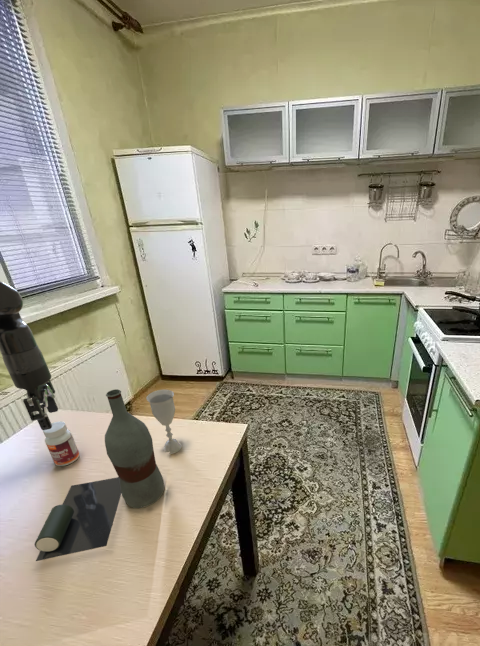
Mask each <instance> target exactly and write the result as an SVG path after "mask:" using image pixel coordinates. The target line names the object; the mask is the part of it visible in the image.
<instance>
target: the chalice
mask: <svg viewBox="0 0 480 646" xmlns="http://www.w3.org/2000/svg"><path fill="white" fill-rule="evenodd" d="M174 395H175V393H174V391H173V390H170V389H157V390H154V391H152V392H150V393H149V394H148V395H147V396H146V399H145V400H146V401H147V402H148V403H149V406H150V410H151V413H152V416H153V417H154V418H155V420H156V421H157V422H159V424H160V425H162V426H164V427H165V432H166V435H165V436H166V437H167V438H168V439H167V441H166V442H165V443H164V447H163V452H164V453H169V454H170V455H172V454H175V453H178V452H180V451H181V449H182V446H183V445H182V444H181V443H180V442H179V441H178V439H176V438H173V435H174V434H173V432H172V428H171V426H170V425H171V424H172V423H173V420H174V417H175V414H176V406H175V401H174Z"/></svg>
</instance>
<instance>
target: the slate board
mask: <svg viewBox="0 0 480 646" xmlns="http://www.w3.org/2000/svg"><path fill="white" fill-rule="evenodd" d="M121 497H122V493H121V487H120V480H119V477H118V476H116V477H111V478H106V479H101V480H94V481H90V482H84V483H79V484H74V485H70V487H69V489H68V492H67V493H66V495H65V497H64V500H63V502H62V504H61V505H68V506H70V507H72V508H73V510H74V514H73V516H72V519H71V521H70V523H69V526H68V528H67V530H66V533H65V535H64V537H63V540H62V542H61V545H60V547H59V548H58V549H56V550H54V551H50V552H44V551H40V550H39V553H38V555H37V557H36V559H35V562H39V561H44V560H48V559H53V558H58V557H63V556H67V555H72V554H76V553H80V552H85V551H89V550H95V549H98V548H104V547H106V546H107V545H108V541H109V539H110V534H111V531H112V528H113V524H114V522H115V518H116V514H117V511H118V507H119V503H120V500H121Z"/></svg>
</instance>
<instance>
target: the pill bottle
mask: <svg viewBox="0 0 480 646" xmlns="http://www.w3.org/2000/svg"><path fill="white" fill-rule="evenodd" d="M51 424H52V428H51V429H47V430H42V433H43V435H44V443H45V445H46V447H47V450H48V451H49V455H50V456H51V458H52V461H53V463H54V465H56V466H58V467H65V466H68V465H70V464H73V463H74V462H76V461H77V460H78V459H79V457H80V452H79V449H78V446H77V444H76V441H75V439H74V436H73V434H72V432H71V430H69V429H68V427H67V424H66V422H65V421H54V422H51Z"/></svg>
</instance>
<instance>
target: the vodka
mask: <svg viewBox="0 0 480 646" xmlns="http://www.w3.org/2000/svg"><path fill="white" fill-rule="evenodd" d="M122 395H123V394H122V390H120V389H111V390H109V391H107V392H106V394H105V397H107V400H108V404H109V407H110V411H111V414H112V417H111V420H110V422H109V424H108V427H107V429H106V432H105V434H104V446H105V452H106V455H107V457H108V459H109V461H110V462H111V464H112V466H113V469H114V470H115V472H116V475H117V477H119V480H120V487H121V497H122V498H123V500H124V502H125V503H126V505H127V506H128V507H130V508H132V509H143V508H146V507H149V506H151V505H153V504H154V503H156V502H157V501H158V500H159V499H160V498H161V497H162V496H163V494H164V492H165V483H164V477H163V474H162V473H161V471H160V469H159V466H158V465H157V462H156V457H155V456H156V455H155V451H154V444H153V443H154V441H153V437H152V435H151V432H150V431H149V428H148V426H147V425H146V423H145V422H143V421H142V420H141V419H140V418H137V417H136V416H135V415H133V414H131V413H129V412H128V411H127V408H126V405H125V401H124V398H123V396H122Z"/></svg>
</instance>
